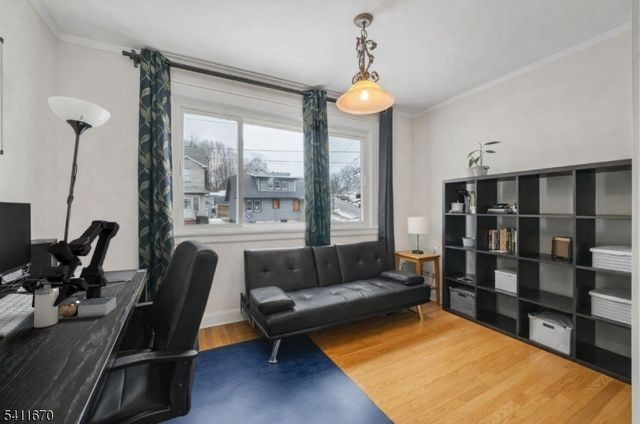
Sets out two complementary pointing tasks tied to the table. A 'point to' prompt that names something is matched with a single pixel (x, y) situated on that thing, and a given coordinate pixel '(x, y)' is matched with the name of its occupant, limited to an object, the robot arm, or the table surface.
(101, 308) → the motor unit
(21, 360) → the table surface
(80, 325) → the table surface
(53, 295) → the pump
